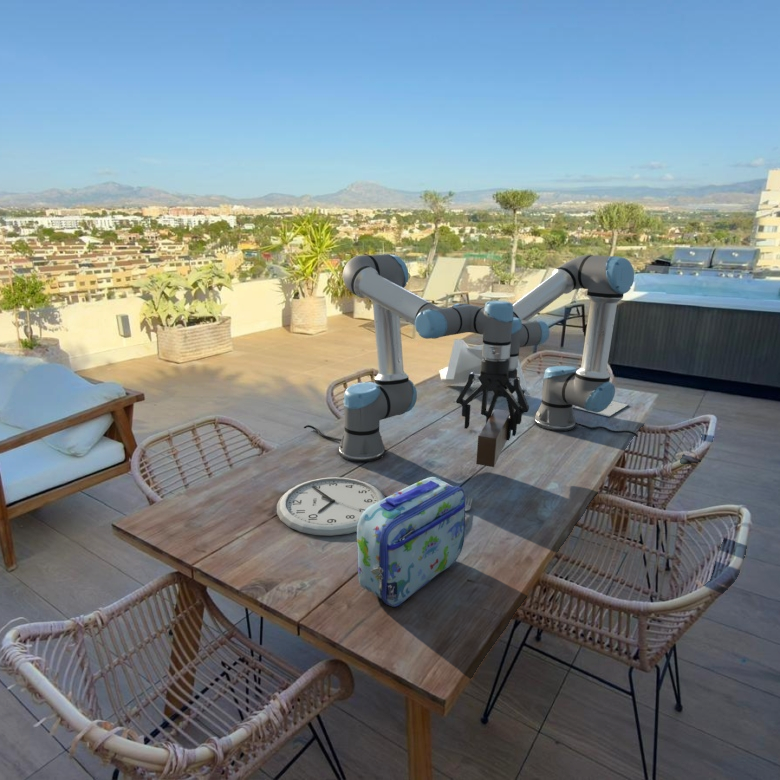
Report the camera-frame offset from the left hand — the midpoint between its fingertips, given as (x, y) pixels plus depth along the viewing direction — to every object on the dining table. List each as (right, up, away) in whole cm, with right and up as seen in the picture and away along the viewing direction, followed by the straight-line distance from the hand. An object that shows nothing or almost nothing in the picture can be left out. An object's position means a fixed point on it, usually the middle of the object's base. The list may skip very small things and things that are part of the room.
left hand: (490, 430), depth 149 cm
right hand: (+7, -4, +19) cm, 21 cm away
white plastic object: (+13, +10, +94) cm, 95 cm away
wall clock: (-44, -20, -7) cm, 49 cm away
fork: (-10, -22, -11) cm, 27 cm away
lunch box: (-24, -29, -36) cm, 52 cm away
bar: (+3, -7, +11) cm, 13 cm away
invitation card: (+63, +4, +77) cm, 99 cm away
